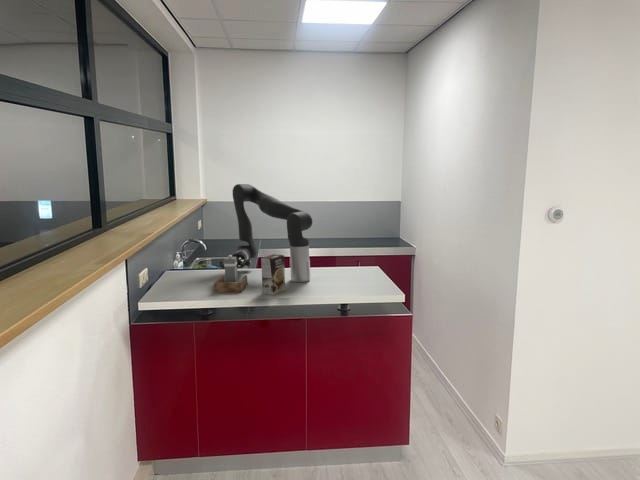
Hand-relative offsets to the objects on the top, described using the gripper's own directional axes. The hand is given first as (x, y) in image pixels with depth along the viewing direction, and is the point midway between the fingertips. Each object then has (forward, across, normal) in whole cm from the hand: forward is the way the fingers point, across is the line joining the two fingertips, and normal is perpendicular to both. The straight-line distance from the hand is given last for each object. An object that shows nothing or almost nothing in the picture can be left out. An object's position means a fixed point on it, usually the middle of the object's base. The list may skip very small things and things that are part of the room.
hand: (231, 266), depth 206 cm
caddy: (+3, 0, +10) cm, 10 cm away
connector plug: (+2, 0, +9) cm, 9 cm away
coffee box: (+8, +20, +10) cm, 24 cm away
